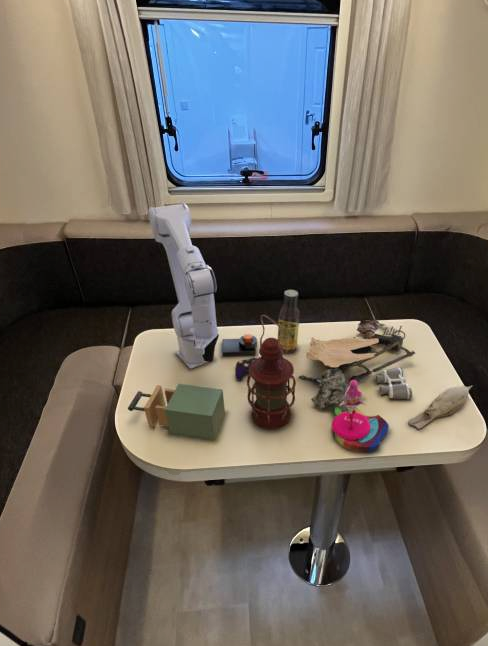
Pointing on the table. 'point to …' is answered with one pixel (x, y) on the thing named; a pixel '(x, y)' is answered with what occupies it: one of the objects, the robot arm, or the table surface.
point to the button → (247, 338)
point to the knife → (309, 378)
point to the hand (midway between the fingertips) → (208, 360)
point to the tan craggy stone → (339, 350)
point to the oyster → (368, 327)
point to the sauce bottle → (289, 321)
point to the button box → (238, 347)
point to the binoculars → (394, 390)
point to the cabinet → (195, 411)
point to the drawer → (153, 405)
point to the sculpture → (442, 405)
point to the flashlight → (389, 339)
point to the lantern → (271, 384)
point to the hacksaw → (368, 372)
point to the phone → (357, 351)
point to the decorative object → (371, 439)
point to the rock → (331, 388)
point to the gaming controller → (242, 367)
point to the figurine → (351, 416)
